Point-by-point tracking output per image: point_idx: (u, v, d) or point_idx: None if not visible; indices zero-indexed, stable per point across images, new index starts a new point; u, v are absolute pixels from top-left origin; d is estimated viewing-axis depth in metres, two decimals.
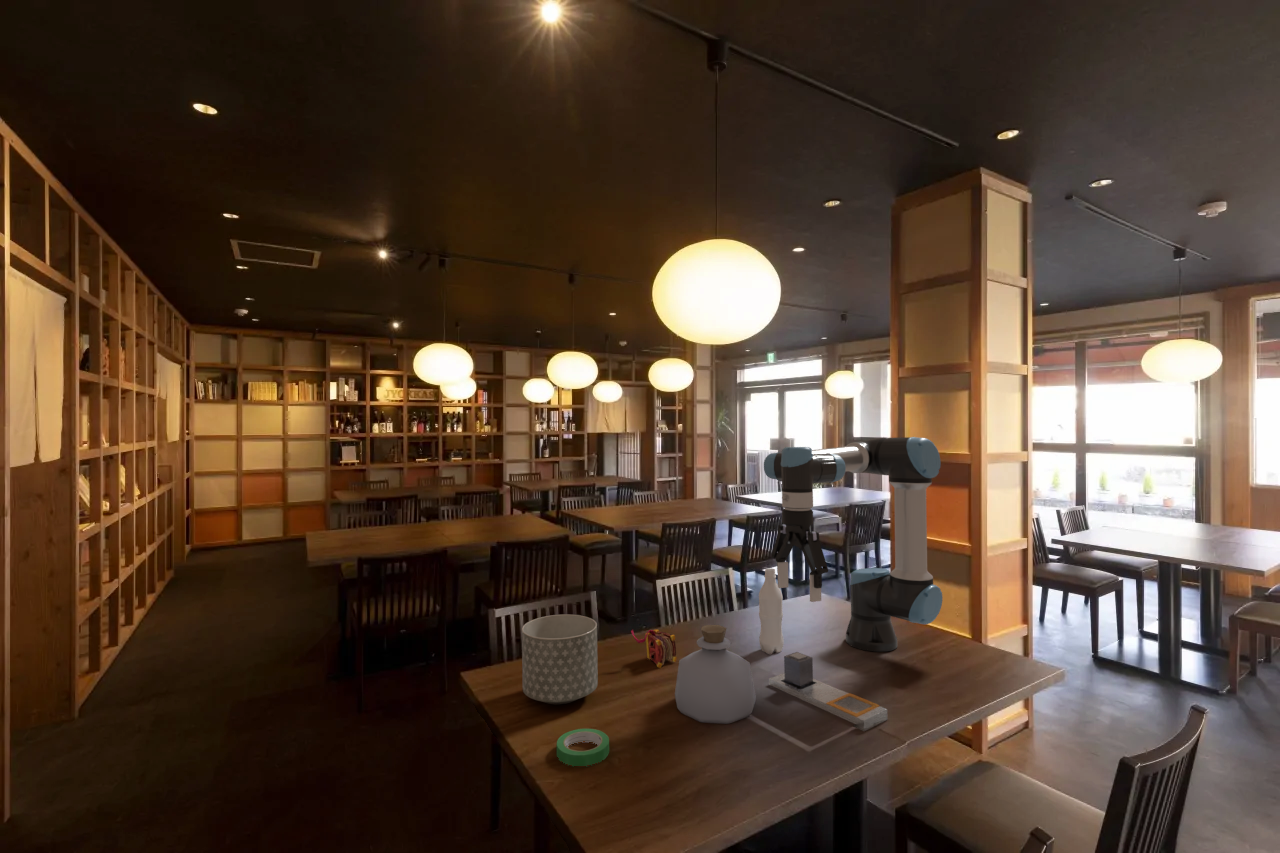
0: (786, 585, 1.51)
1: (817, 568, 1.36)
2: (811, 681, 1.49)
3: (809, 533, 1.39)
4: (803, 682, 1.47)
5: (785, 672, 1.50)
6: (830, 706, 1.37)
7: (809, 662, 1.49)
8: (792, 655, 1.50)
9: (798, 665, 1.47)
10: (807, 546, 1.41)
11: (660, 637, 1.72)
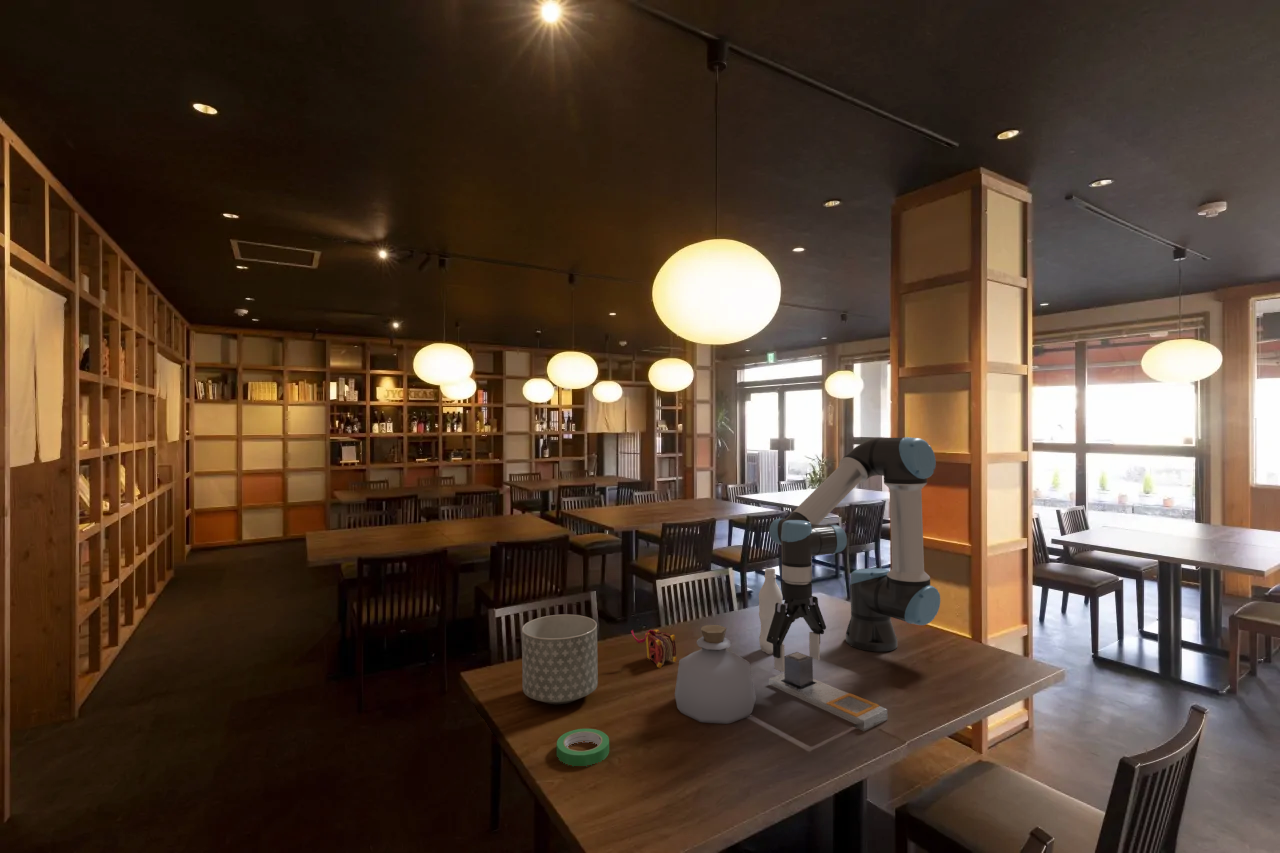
0: (816, 657, 1.53)
1: None
2: (811, 681, 1.49)
3: None
4: (803, 682, 1.47)
5: (785, 672, 1.50)
6: (830, 706, 1.37)
7: (809, 662, 1.49)
8: (792, 655, 1.50)
9: (798, 665, 1.47)
10: (786, 617, 1.48)
11: (660, 637, 1.72)
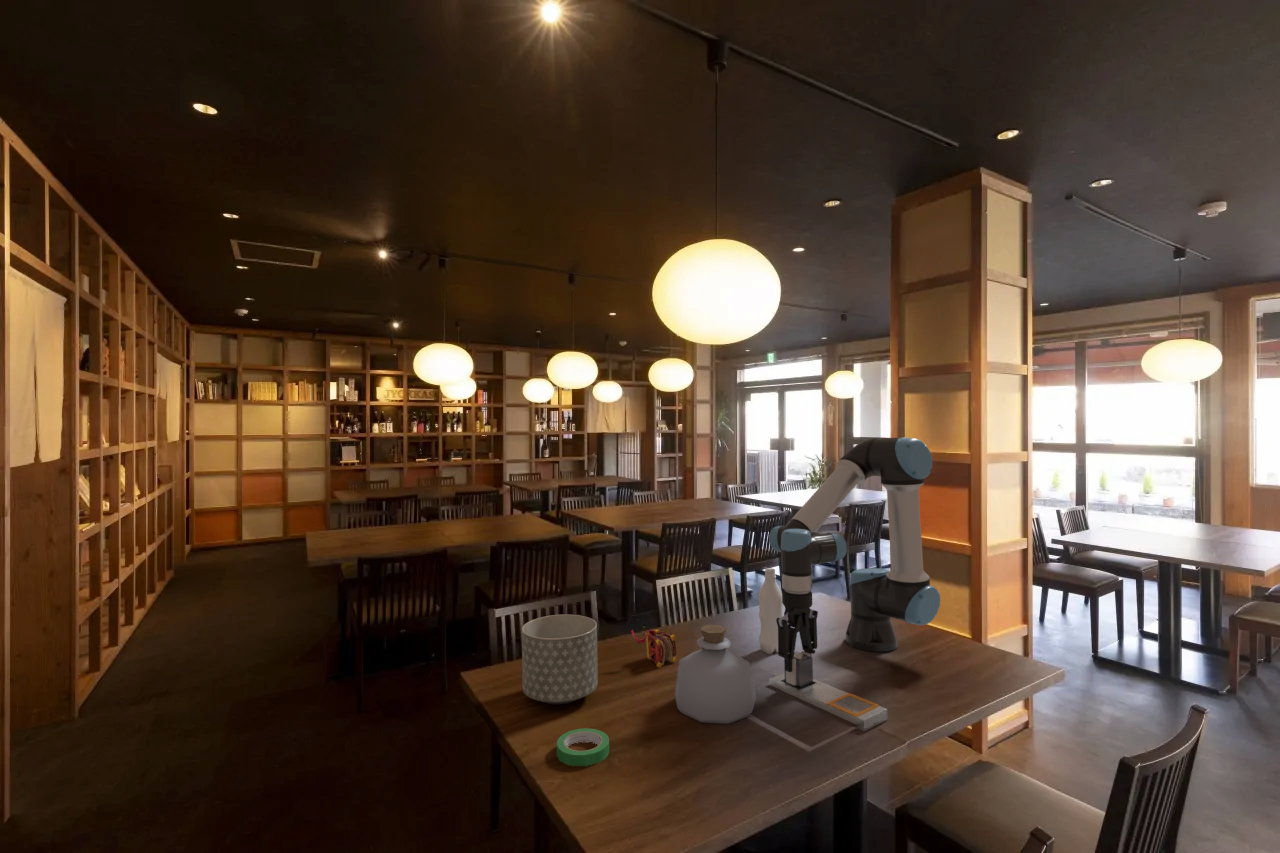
0: None
1: None
2: (811, 681, 1.49)
3: (777, 619, 1.48)
4: (803, 682, 1.47)
5: (785, 672, 1.50)
6: (830, 706, 1.37)
7: (809, 662, 1.49)
8: None
9: (798, 665, 1.47)
10: (790, 629, 1.49)
11: (660, 637, 1.72)
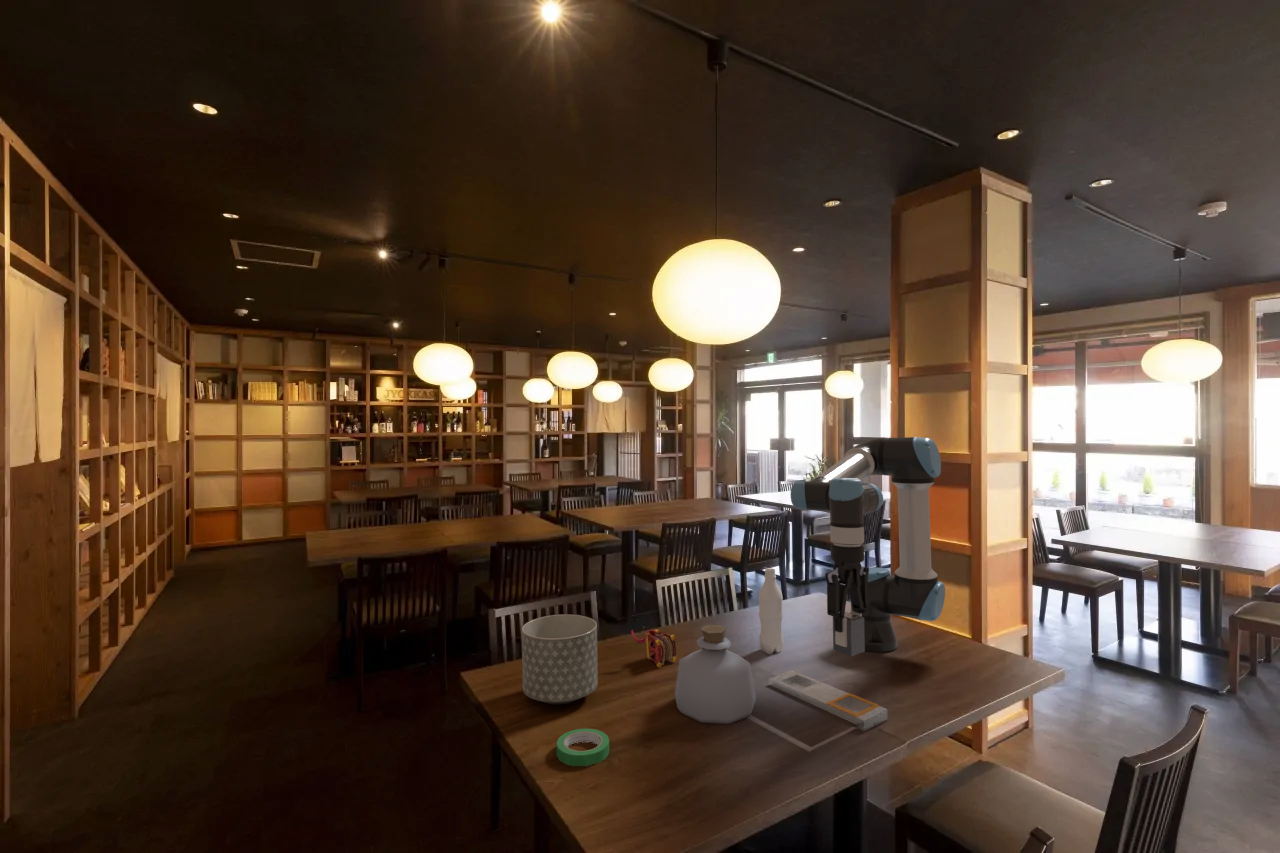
0: None
1: None
2: (863, 643, 1.36)
3: (826, 574, 1.35)
4: (854, 643, 1.35)
5: (834, 633, 1.38)
6: (830, 706, 1.37)
7: (861, 622, 1.36)
8: None
9: (850, 624, 1.34)
10: (840, 586, 1.36)
11: (660, 637, 1.72)
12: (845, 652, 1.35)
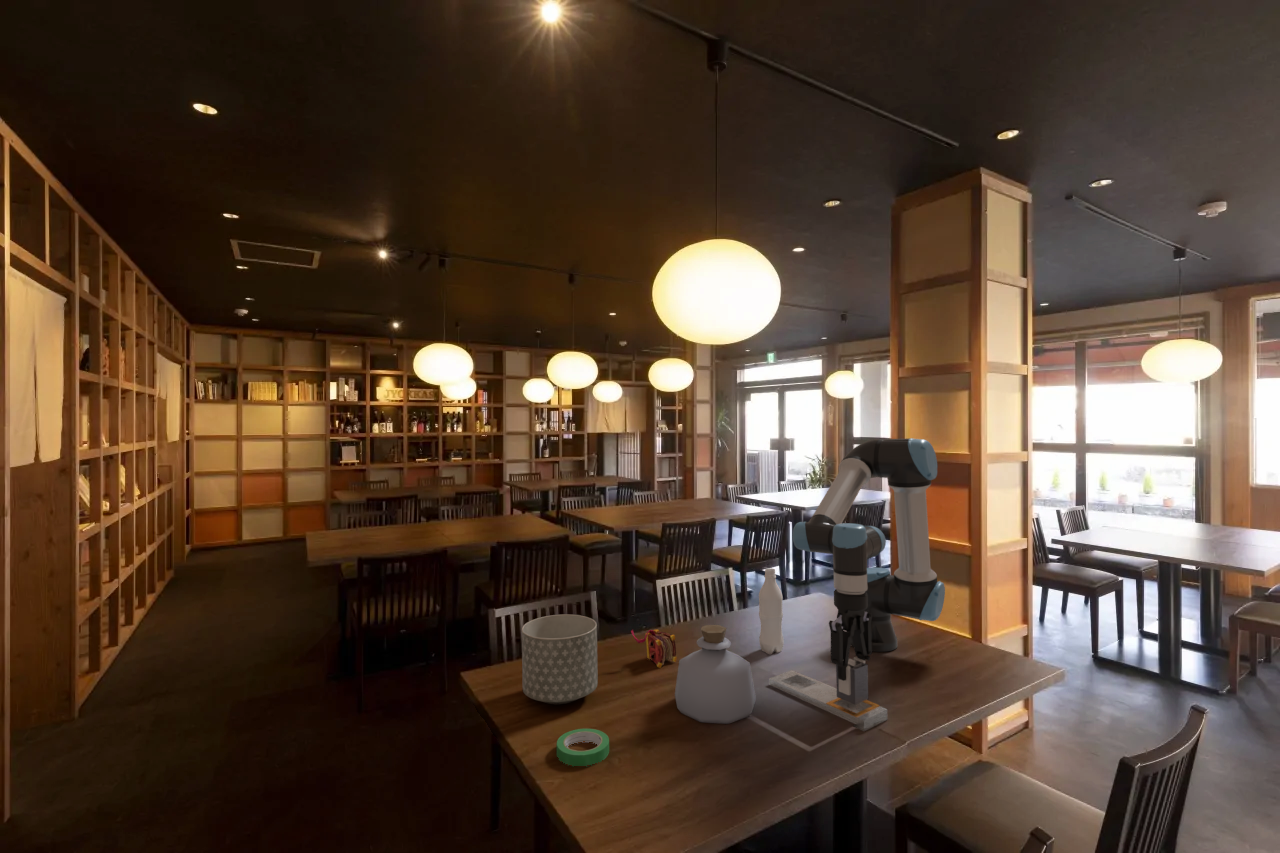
0: None
1: None
2: (866, 690, 1.36)
3: (829, 622, 1.35)
4: (858, 692, 1.34)
5: (837, 680, 1.37)
6: (830, 706, 1.37)
7: (864, 669, 1.36)
8: None
9: (853, 673, 1.34)
10: (843, 634, 1.35)
11: (660, 637, 1.72)
12: (849, 700, 1.35)
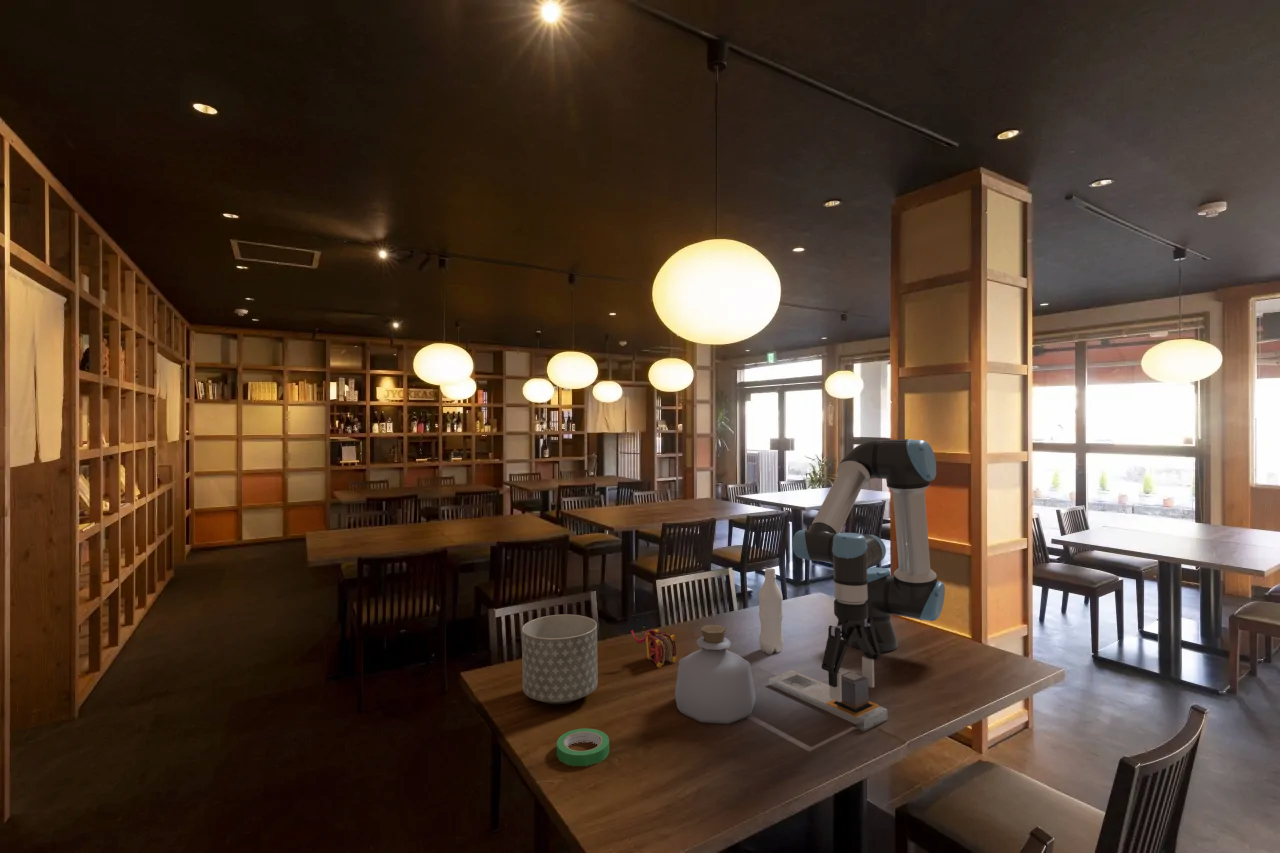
0: (870, 684, 1.40)
1: None
2: (867, 704, 1.36)
3: (829, 627, 1.34)
4: (858, 706, 1.34)
5: None
6: (830, 706, 1.37)
7: (865, 683, 1.36)
8: (845, 676, 1.37)
9: (854, 687, 1.34)
10: (841, 641, 1.35)
11: (660, 637, 1.72)
12: None
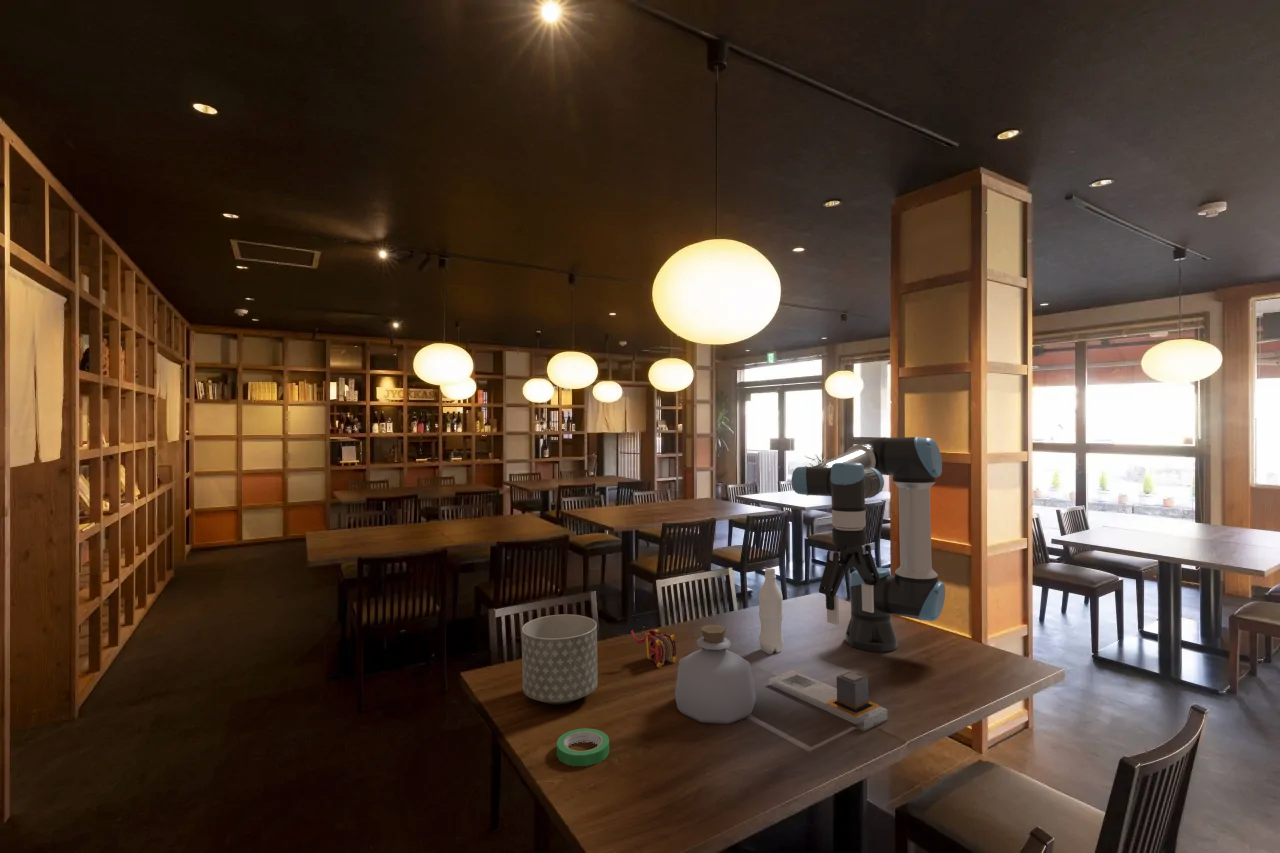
0: (869, 610, 1.41)
1: None
2: (867, 704, 1.36)
3: None
4: (858, 706, 1.34)
5: (838, 694, 1.37)
6: (830, 706, 1.37)
7: (865, 683, 1.36)
8: (845, 676, 1.37)
9: (854, 687, 1.34)
10: (839, 567, 1.36)
11: (660, 637, 1.72)
12: None
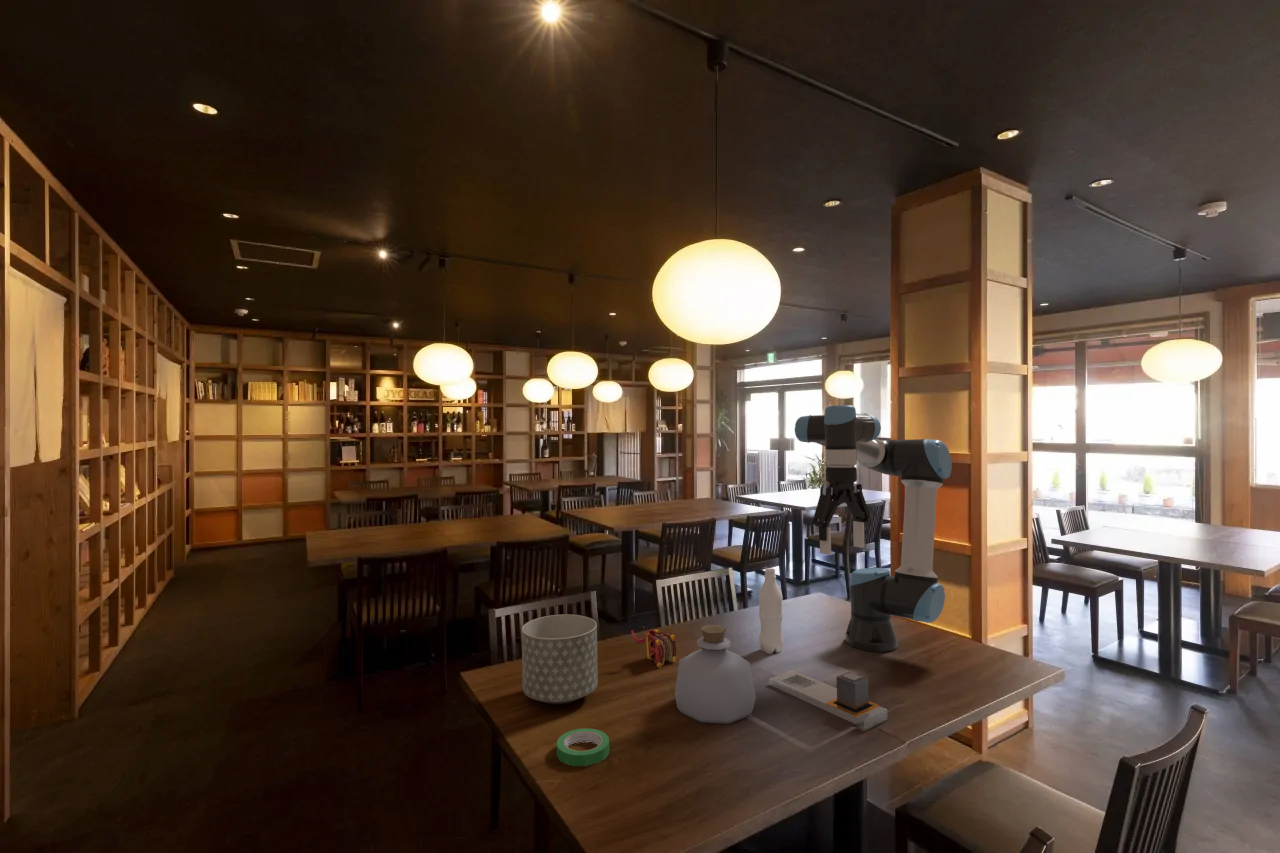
0: (860, 545, 1.50)
1: None
2: (867, 704, 1.36)
3: None
4: (858, 706, 1.34)
5: (838, 694, 1.37)
6: (830, 706, 1.37)
7: (865, 683, 1.36)
8: (845, 676, 1.37)
9: (854, 687, 1.34)
10: (831, 502, 1.45)
11: (660, 637, 1.72)
12: None
